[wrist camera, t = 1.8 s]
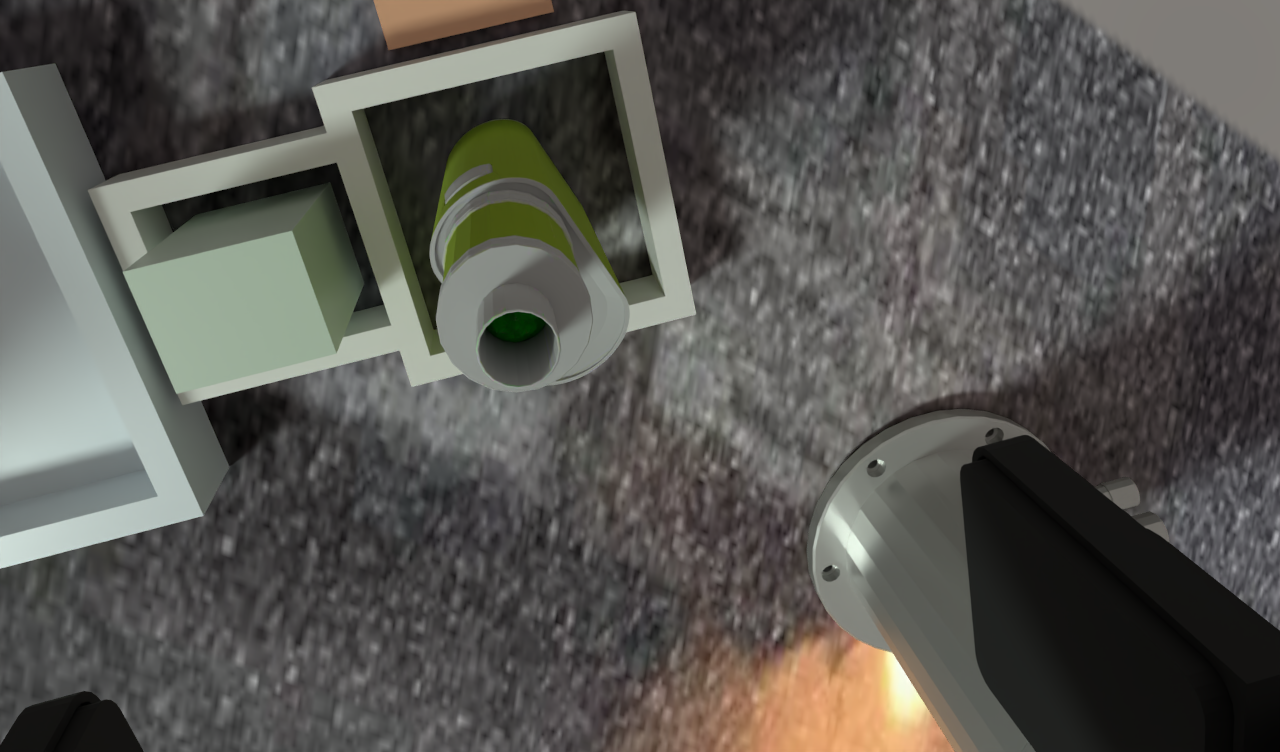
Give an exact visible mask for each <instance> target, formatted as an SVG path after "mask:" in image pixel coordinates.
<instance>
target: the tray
mask: <svg viewBox="0 0 1280 752" xmlns="http://www.w3.org/2000/svg"><path fill="white" fill-rule="evenodd" d="M104 181H106V180H105V177H104V175H103V173H102V170H101V168H100V166H99V163H98V161H97V159H96V157H95V154H94V152H93V150H92V147H91V145H90V143H89V140H88V138H87V136H86V133H85V131H84V129H83V126H82V124H81V122H80V119H79V117H78V115H77V112H76V110H75V108H74V106H73V103H72V101H71V99H70V96H69V94H68V92H67V89H66V87H65V85H64V82H63V80H62V78H61V75H60V73H59V71H58V68H57V66H56V64H55V63H54V64H48V65H42V66H35V67H29V68H23V69H17V70H11V71H5V72H0V568H4V567H8V566H12V565H16V564H20V563H24V562H27V561H31V560H35V559H39V558H43V557H47V556H50V555H54V554H58V553H62V552H66V551H70V550H74V549H77V548H81V547H85V546H89V545H93V544H97V543H100V542H104V541H108V540H112V539H116V538H120V537H124V536H127V535H131V534H135V533H139V532H143V531H147V530H150V529H154V528H158V527H162V526H166V525H170V524H174V523H177V522H181V521H185V520H189V519H193V518H197V517H200V516H204V514H205V512H206V510H207V508H208V506H209V505H210V503H211V501H212V499H213V497H214V495H215V493H216V491H217V489H218V487H219V486H220V484H221V482H222V480H223V478H224V476H225V474H226V472H227V470H228V469H229V465H228V462H227V460H226V458H225V455H224V453H223V451H222V449H221V446H220V444H219V442H218V439H217V437H216V435H215V432H214V430H213V428H212V425H211V423H210V421H209V418H208V416H207V414H206V411H205V409H204V407H203V405H202V402H201V401H197V402H193V403H189V404H185V405H182V403H181V401H180V399H179V397H178V394H176V392H175V390H174V387H173V385H172V383H171V381H170V378H169V376H168V374H167V372H166V369H165V367H164V365H163V363H162V360H161V358H160V356H159V353H158V351H157V349H156V347H155V344H154V342H153V340H152V338H151V335H150V333H149V331H148V329H147V326H146V324H145V322H144V319H143V317H142V315H141V313H140V310H139V308H138V306H137V304H136V301H135V299H134V297H133V295H132V292H131V290H130V288H129V285H128V283H127V281H126V279H125V276H124V274H123V270H122V267H121V265H120V263H119V260H118V258H117V256H116V254H115V251H114V249H113V247H112V245H111V242H110V240H109V238H108V236H107V233H106V231H105V229H104V226H103V224H102V222H101V220H100V217H99V215H98V213H97V211H96V208H95V206H94V204H93V202H92V199H91V197H90V195H89V192H88V189H90V188H92V187H94V186H96V185H98V184H100V183H102V182H104Z"/></svg>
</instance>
